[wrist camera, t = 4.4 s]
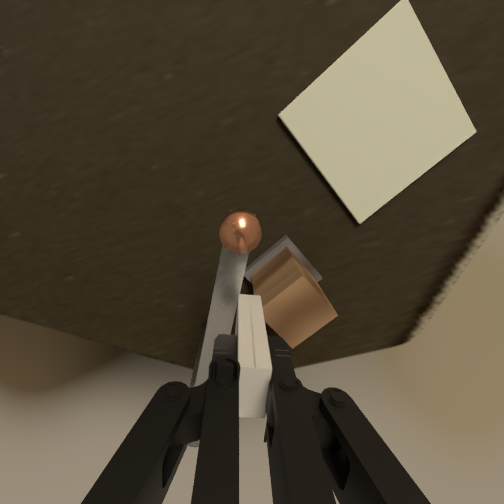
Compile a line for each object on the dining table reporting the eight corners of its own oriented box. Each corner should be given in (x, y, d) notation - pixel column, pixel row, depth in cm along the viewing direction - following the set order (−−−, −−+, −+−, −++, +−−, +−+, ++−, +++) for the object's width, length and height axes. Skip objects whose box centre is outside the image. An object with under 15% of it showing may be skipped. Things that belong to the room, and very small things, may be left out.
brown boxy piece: (242, 270, 31) (244, 311, 23) (285, 234, 30) (304, 264, 22) (277, 306, 33) (291, 357, 25) (319, 274, 32) (349, 315, 24)
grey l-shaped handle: (200, 334, 34) (174, 461, 20) (229, 183, 28) (221, 208, 14) (220, 337, 34) (207, 465, 20) (252, 188, 28) (267, 218, 14)
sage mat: (277, 115, 26) (278, 114, 26) (401, -1, 24) (405, -5, 23) (357, 222, 30) (359, 223, 30) (471, 132, 28) (476, 131, 27)
